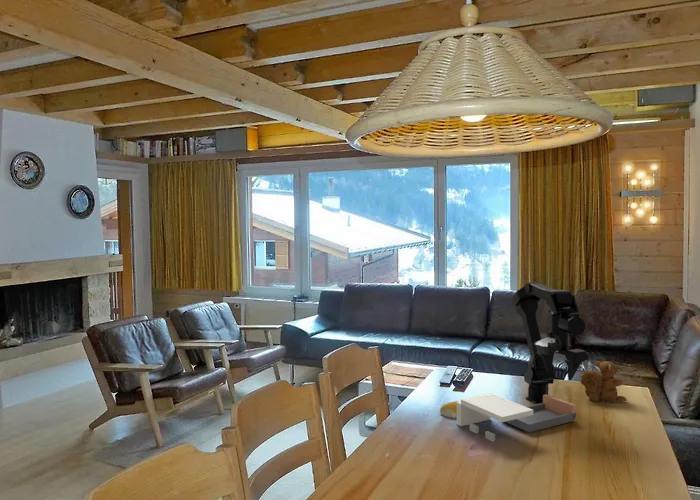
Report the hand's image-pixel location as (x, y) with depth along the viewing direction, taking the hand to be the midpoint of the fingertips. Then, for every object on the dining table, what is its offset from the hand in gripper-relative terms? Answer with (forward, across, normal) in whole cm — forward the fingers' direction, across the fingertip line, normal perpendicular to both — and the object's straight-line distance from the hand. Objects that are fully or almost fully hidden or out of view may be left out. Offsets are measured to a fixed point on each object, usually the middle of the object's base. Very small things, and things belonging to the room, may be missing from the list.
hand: (559, 376), depth 188 cm
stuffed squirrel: (+13, -4, +25) cm, 28 cm away
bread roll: (+13, -15, -30) cm, 36 cm away
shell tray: (+12, +2, -11) cm, 17 cm away
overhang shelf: (+12, +4, -29) cm, 31 cm away
